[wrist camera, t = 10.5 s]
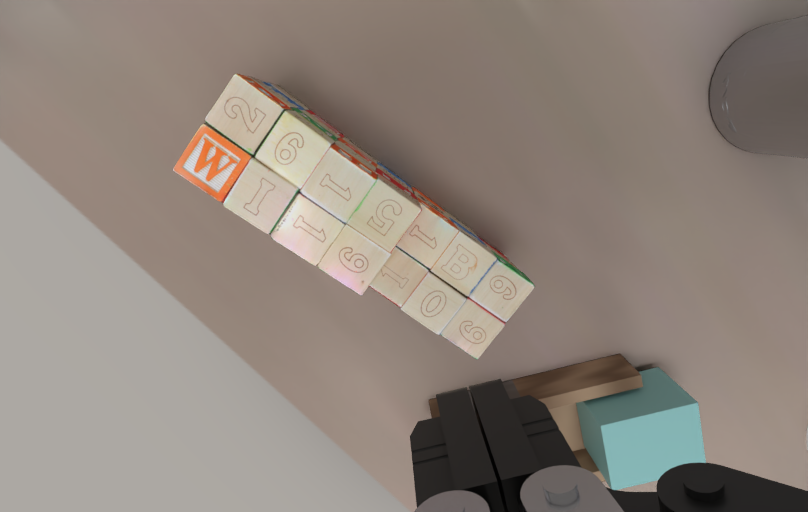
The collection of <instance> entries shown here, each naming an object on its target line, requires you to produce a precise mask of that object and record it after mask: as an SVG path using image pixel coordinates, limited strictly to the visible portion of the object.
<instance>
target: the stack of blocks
mask: <svg viewBox="0 0 808 512" xmlns="http://www.w3.org/2000/svg"><path fill="white" fill-rule="evenodd" d="M205 121H206V123H204V124H202V126H201V127H200V128H199V129H198V131H197V132H196V134H195V135H194V137H193V138H192V140H191V142H190V143H189V145H188V146H187V148H186V149H185V151H184V152H183V154H182V156H181V157H180V159H179V160H178V162H177V163H176V165H175V167H174V169H173V170H174V171H175V172H176V173H177V174H179V175H180V176H182V177H183V178H185V179H186V180H188V181H189V182H191V183H192V184H194V185H195V186H197V187H198V188H200V189H201V190H203V191H204V192H206V193H207V194H209V195H210V196H212V197H213V198H215V199H216V200H218V201H220V202H222V203H223V205H224V206H225V207H226V208H227V209H229V210H230V211H232V212H233V213H235V214H236V215H238V216H240V217H241V218H243V219H244V220H246V221H247V222H249V223H250V224H252V225H253V226H255V227H257V228H258V229H260V230H261V231H263V232H265V233H266V234H270V235H271V238H272V239H273V240H274V241H276V242H278V243H279V244H280V245H282V246H284V247H285V248H287V249H288V250H290V251H291V252H293V253H294V254H296V255H298V256H299V257H301V258H302V259H304V260H305V261H307V262H308V263H310V264H312V265H314V266H317V267H318V268H319V269H320V270H322V271H323V272H325V273H326V274H328V275H330V276H331V277H333V278H334V279H336V280H337V281H339V282H340V283H342V284H343V285H345V286H346V287H348V288H350V289H351V290H353V291H354V292H356V293H357V294H359V295H361V296H362V295H363V293H364V292H365V290H366V289H367V288H368V286H369V287H371V288H372V289H374V290H375V291H377V292H378V293H380V294H381V295H383V296H384V297H385V298H387V299H388V300H390V301H391V302H393V303H394V304H396V305H397V306H399V307H400V309H401V310H402V311H403V312H405V313H406V314H408V315H409V316H411V317H412V318H413V319H415V320H416V321H418V322H419V323H421V324H422V325H424V326H425V327H427V328H428V329H429V330H431V331H432V332H434V333H435V334H437V335H442V336H443V337H444V338H446V339H447V340H449V341H450V342H452V343H453V344H454V345H456V346H457V347H459V348H460V349H462V350H463V351H465V352H466V353H467V354H469V355H470V356H472V357H473V358H475V359H478V358H479V357H480V356H481V354H482V353H483V352H484V351H485V350H486V348H487V347H488V346H489V345H490V343H491V342H492V341H493V339H494V338H495V337H496V336H497V335H498V334H499V332H500V331H501V330H502V329H503V327H504V326H505V323H506V322H507V321H508V320H509V319H510V317H511V316H512V315H513V314H514V312H515V311H516V310H517V309H518V308H519V306H520V305H521V304H522V302H523V301H524V300H525V299H526V298H527V296H528V295H529V294H530V293H531V291H532V290H533V289H534V287H535V285H534V284H533V283H532V282H531V281H530V279H529V278H528V277H527V276H526V275H525V274H524V273H522V272H521V271H519V270H518V269H517V268H516V267H515V266H514V265H513V264H512V263H511V262H510V261H509V260H508V259H507V258H506V257H505V256H504V255H503V254H502V253H500V252H499V251H498V250H496V249H495V248H493V247H492V246H491V245H489V244H488V243H486V242H485V241H484V240H482V239H481V238H479V237H478V236H477V235H476V234H475V233H474V232H473V231H472V230H471V229H469V228H468V227H467V226H465V225H464V224H463V223H461V222H460V221H458V220H457V219H456V218H454V217H453V216H452V215H450V214H449V213H448V212H446V211H445V210H443V209H442V208H441V207H440V206H438V205H437V204H436V203H434V202H433V201H432V200H430V199H429V198H428V197H426V196H425V195H424V194H422V193H421V192H420V191H418V190H417V189H416V188H414V187H413V186H410V185H408V184H407V183H406V182H404V181H403V180H402V179H401V178H399V177H398V176H396V175H395V174H394V173H392V172H391V171H390V170H388V169H387V168H386V167H384V166H383V165H382V164H380V163H379V162H377V161H376V160H375V159H373V158H372V157H371V156H369V155H368V154H367V153H365V152H364V151H363V150H361V149H360V148H359V147H357V146H356V145H354V144H353V143H352V142H350V141H349V140H348V139H346V138H345V137H344V135H342V134H341V133H340V132H339V131H337V130H336V129H335V128H333V127H332V126H331V125H329V124H328V123H327V122H325V121H324V120H323V119H321V118H320V117H319V116H317V115H316V114H315V113H313V112H312V111H311V110H310V109H309V108H307V107H306V106H305V105H303V104H302V103H301V102H299V101H298V100H297V99H295V98H294V97H293V96H291V95H290V94H289V93H287V92H286V91H285V90H283V89H282V88H281V87H279V86H278V85H276V84H272V83H266V82H262V81H260V80H258V79H255V78H253V77H249V76H244V75H240V74H235V75H234V76H233V77H232V79H231V80H230V82H229V84H228V85H227V87H226V88H225V90H224V91H223V93H222V94H221V96H220V97H219V99H218V100H217V102H216V103H215V105H214V106H213V107H212V109H211V110H210V112H209V113H208V115H207V116H206V118H205Z"/></svg>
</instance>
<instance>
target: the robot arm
mask: <svg viewBox="0 0 808 512" xmlns="http://www.w3.org/2000/svg"><path fill="white" fill-rule="evenodd" d="M710 108H711V113H712V117H713V120H714V122H715V124H716V126H717V128H718V130H719V131H720V132H721V134H722V135H723V136H724V137H725V139H727V140H728V141H729V142H731V143H732V144H733V145H734V146H736V147H738V148H741V149H743V150H745V151H749V152H755V153H762V154H772V155H782V156H790V157H799V158H808V15H807V16H802V17H798V18H794V19H789V20H785V21H781V22H777V23H773V24H769V25H765V26H760V27H758V28H756V29H754V30H752V31H749V32H747V33H746V34H744V35H743V36H742V37H740V38H739V39H738V40H736V41H735V42H734V43H733V44H732V45H731V46H730V48H729V49H728V50H727V51H726V52H725V53H724V55H723V57H722V58H721V60H720V61H719V63H718V65H717V67H716V70H715V72H714V75H713V77H712V82H711V87H710ZM469 389H470V394H471V398H472V402H473V405H472V402H471V399H470V396H469V393H468V390H467V387H465V388H461V389H457V390H453V391H449V392H445V393H440V394H436V398H437V403H438V408H439V413H440V417H435V418H431V419H427V420H423V421H419V422H418V423H417V425H416V426H415V428H414V430H413V432H412V434H411V436H410V441H411V451H412V461H413V471H414V481H415V491H416V502H417V509H416V510H415V512H808V491H805V490H802V489H798V488H795V487H792V486H788V485H785V484H782V483H778V482H775V481H771V480H768V479H765V478H761V477H758V476H755V475H751V474H748V473H745V472H741V471H738V470H735V469H731V468H728V467H725V466H721V465H717V464H711V463H687V464H682V465H679V466H676V467H673V468H671V469H669V470H668V471H666V472H665V473H664V474H663V475H661V477H660V478H659V480H658V483H657V492H624V491H617V490H613V489H609V488H606V487H605V486H604V484H603V483H602V482H601V480H600V479H599V478H598V477H597V476H596V475H595V474H593V473H592V472H590V471H588V470H586V469H583V468H582V467H581V465H580V464H579V462H578V460H577V458H576V457H575V455H574V453H573V451H572V450H571V448H570V446H569V445H568V443H567V441H566V439H565V438H564V436H563V434H562V432H561V431H560V430H559V427H558V425H557V424H556V422H555V420H553V417H552V415H551V413H550V412H549V410H548V408H547V406H546V405H545V404H544V403H543V402H541V401H539V400H537V399H536V398H534V397H532V396H531V395H526V396H522V397H518V398H514V399H510V398H509V396H508V394H507V392H506V390H505V388H504V385H503V383H502V381H501V379H498V380H494V381H490V382H486V383H482V384H477V385H473V386H469ZM473 407H474V408H473Z"/></svg>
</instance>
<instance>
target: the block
mask: <svg viewBox="0 0 808 512" xmlns="http://www.w3.org/2000/svg"><path fill="white" fill-rule="evenodd" d="M639 373H640V374H641V377H642V383H643V387H640V388H636V389H632V390H628V391H624V392H620V393H615V394H611V395H607V396H603V397H599V398H595V399H590V400H586V401H582V402H578V403H576V405H577V410H578V416H579V421H580V426H581V432H582V437H583V442H584V446H585V448H586V450H587V451H588V453H589V454H590V456H591V458H592V459H593V461H594V462H595V464H596V466H597V467H598V469H599V470H600V472H601V474H602V475H603V477H604V479H605V480H606V482H607V483H608V485H609V487H610V488H611V489H613V490H618V489H622V488H627V487H631V486H635V485H639V484H644V483H648V482H652V481H656V480H659V478H660V477H661V475H663V474H664V473H665V472H666V471H668V470H669V469H671V468H673V467H676V466H679V465H682V464H687V463H706V460H705V453H704V445H703V438H702V430H701V422H700V415H699V407H698V402H697V401H696V400H694V399H693V398H692V397H691V396H690V395H689V394H688V393H687V392H686V391H684V390H683V389H682V388H681V387H680V386H679V385H678V384H677V383H676V382H674V381H673V380H672V379H671V378H670V377H669V376H668V375H667V374H666V373H664V372H663V371H662V370H661V369H660V368H659V367H656V368H652V369H648V370H644V371H640V372H639Z"/></svg>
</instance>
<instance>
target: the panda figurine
mask: <svg viewBox="0 0 808 512" xmlns="http://www.w3.org/2000/svg"><path fill="white" fill-rule="evenodd" d="M806 444H807V450H808V427H807V433H806Z"/></svg>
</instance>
